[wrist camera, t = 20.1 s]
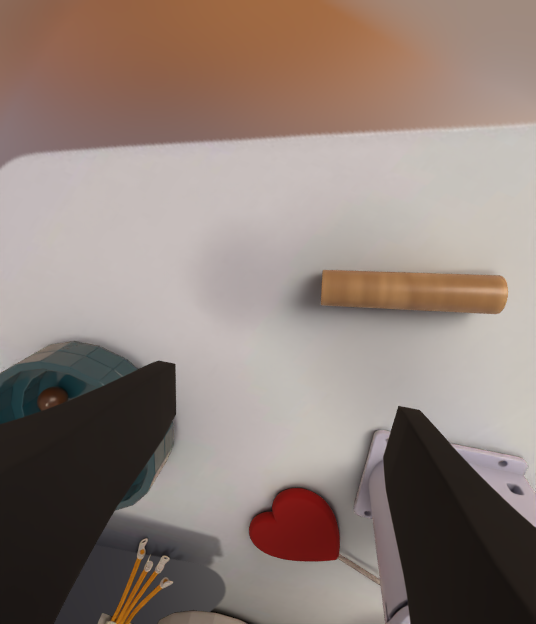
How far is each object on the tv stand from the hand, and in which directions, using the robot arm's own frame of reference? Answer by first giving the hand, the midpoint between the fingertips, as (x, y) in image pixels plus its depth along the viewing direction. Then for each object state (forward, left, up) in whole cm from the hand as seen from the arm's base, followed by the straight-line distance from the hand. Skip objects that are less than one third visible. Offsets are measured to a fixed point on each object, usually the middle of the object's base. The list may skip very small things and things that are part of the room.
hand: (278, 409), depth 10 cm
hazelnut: (+18, +10, -9) cm, 22 cm away
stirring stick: (-10, -2, -9) cm, 14 cm away
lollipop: (-6, +21, -10) cm, 24 cm away
